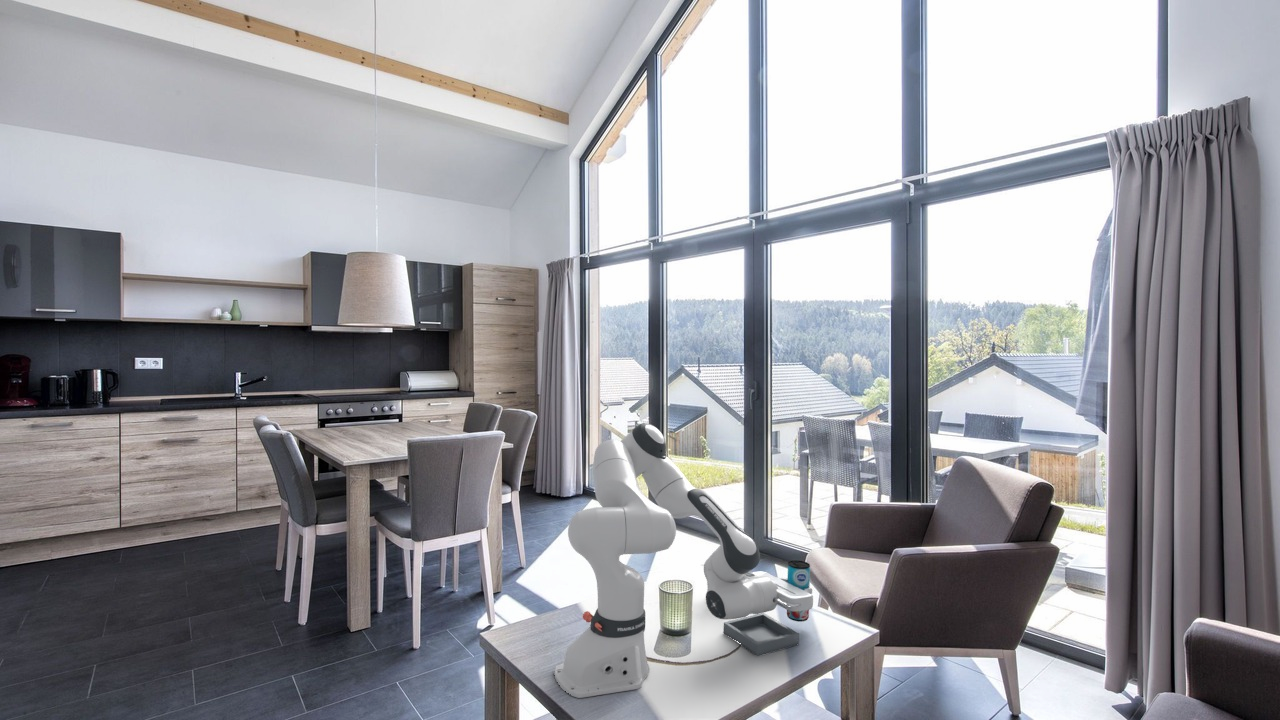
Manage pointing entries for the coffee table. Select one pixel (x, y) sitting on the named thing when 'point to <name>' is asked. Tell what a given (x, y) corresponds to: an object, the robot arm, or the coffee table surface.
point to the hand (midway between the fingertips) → (800, 586)
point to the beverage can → (798, 585)
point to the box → (761, 634)
